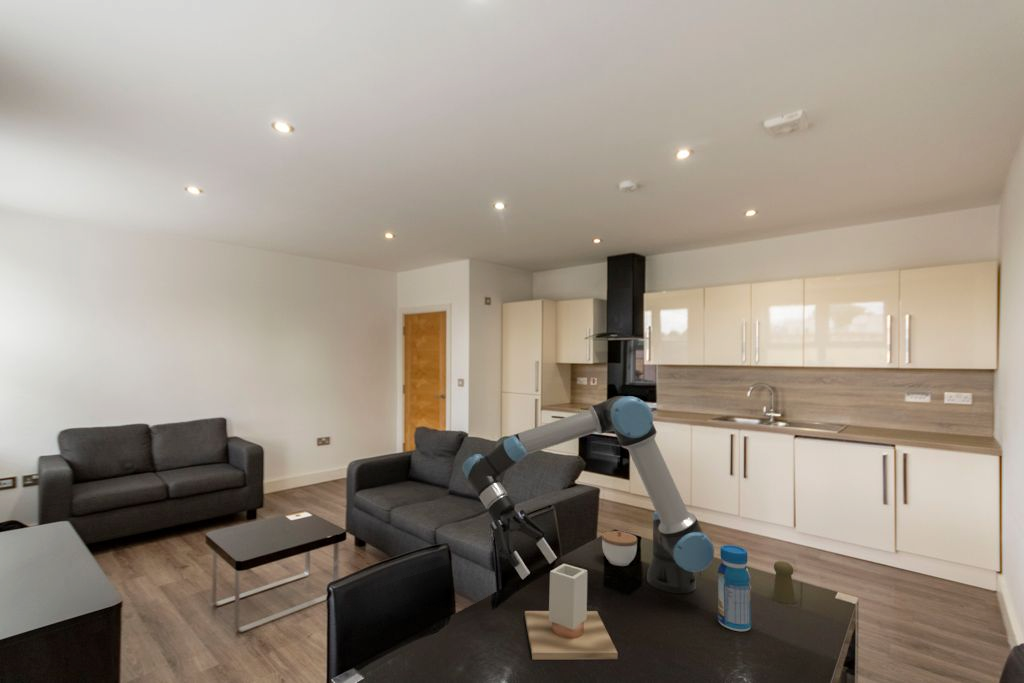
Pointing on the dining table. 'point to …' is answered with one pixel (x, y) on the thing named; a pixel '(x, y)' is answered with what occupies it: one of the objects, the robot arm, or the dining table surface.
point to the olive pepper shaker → (783, 583)
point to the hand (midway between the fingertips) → (540, 568)
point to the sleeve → (568, 596)
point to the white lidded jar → (619, 547)
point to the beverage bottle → (734, 589)
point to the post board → (568, 638)
